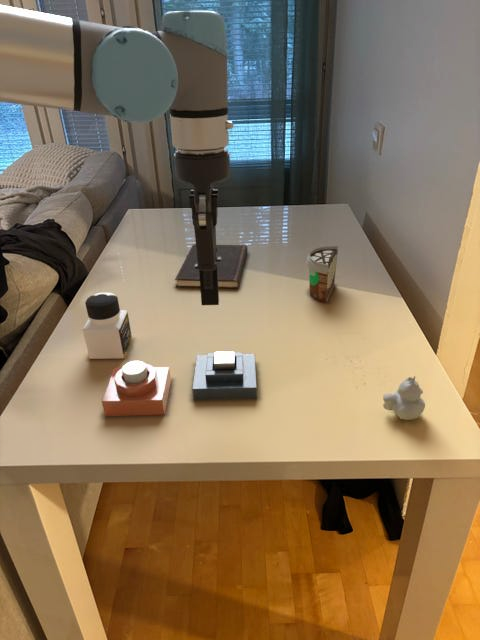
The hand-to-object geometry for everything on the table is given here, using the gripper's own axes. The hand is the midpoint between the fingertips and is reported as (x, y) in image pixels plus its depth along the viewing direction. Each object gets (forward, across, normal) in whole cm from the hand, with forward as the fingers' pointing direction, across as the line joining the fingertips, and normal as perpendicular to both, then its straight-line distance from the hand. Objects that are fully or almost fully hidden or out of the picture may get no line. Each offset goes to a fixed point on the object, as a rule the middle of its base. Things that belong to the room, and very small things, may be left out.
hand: (210, 302), depth 75 cm
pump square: (+14, +2, -2) cm, 14 cm away
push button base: (+17, +2, -2) cm, 17 cm away
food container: (+17, +35, -24) cm, 46 cm away
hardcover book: (+17, +50, +2) cm, 53 cm away
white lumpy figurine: (+17, -8, -31) cm, 36 cm away
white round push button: (+13, -2, +13) cm, 19 cm away
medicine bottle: (+18, +13, +22) cm, 31 cm away
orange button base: (+17, -2, +13) cm, 22 cm away
